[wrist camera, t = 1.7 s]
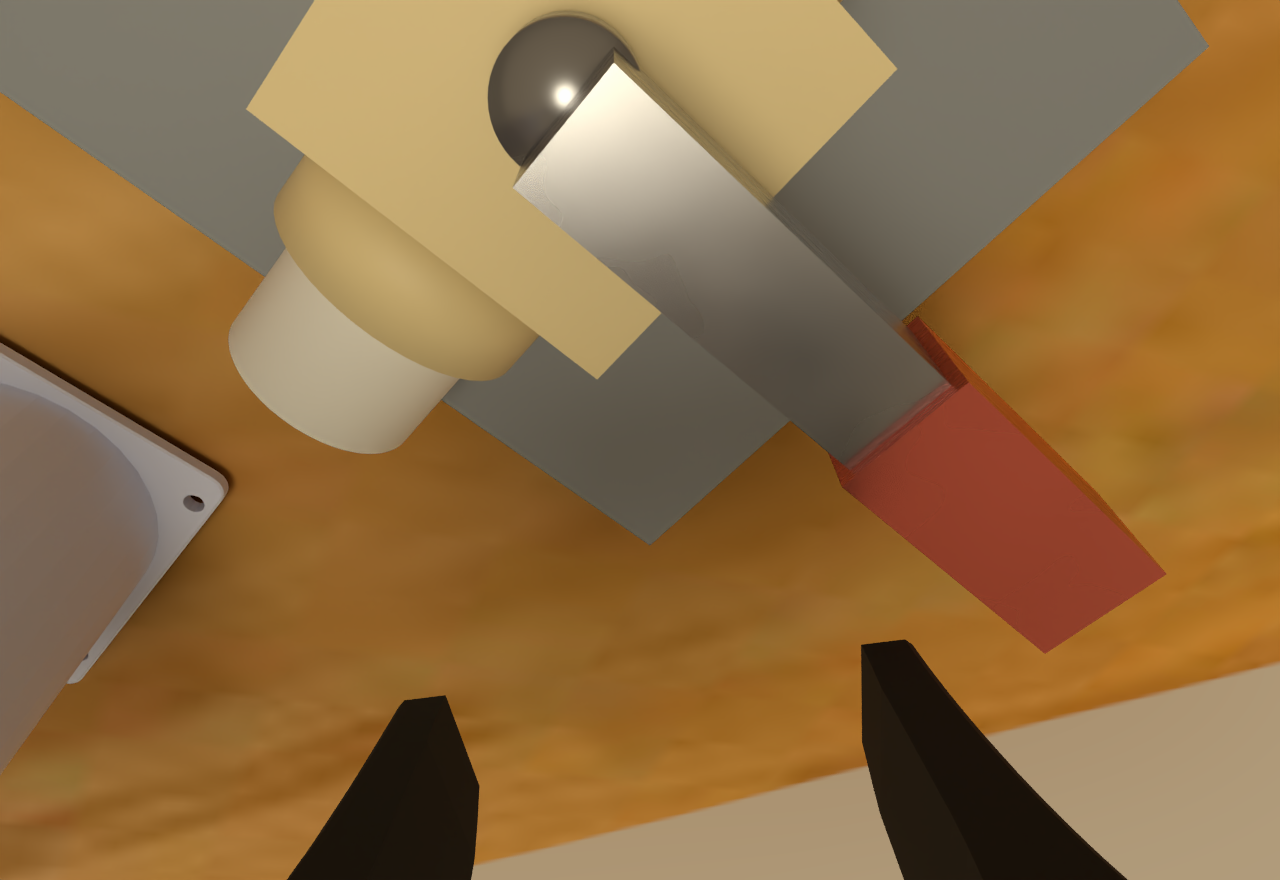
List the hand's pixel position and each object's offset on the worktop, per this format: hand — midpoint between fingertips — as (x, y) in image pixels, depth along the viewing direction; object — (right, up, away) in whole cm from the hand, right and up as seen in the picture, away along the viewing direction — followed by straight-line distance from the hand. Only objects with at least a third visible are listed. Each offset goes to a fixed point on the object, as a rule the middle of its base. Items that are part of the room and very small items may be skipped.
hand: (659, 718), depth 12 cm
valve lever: (+2, +6, +1) cm, 7 cm away
